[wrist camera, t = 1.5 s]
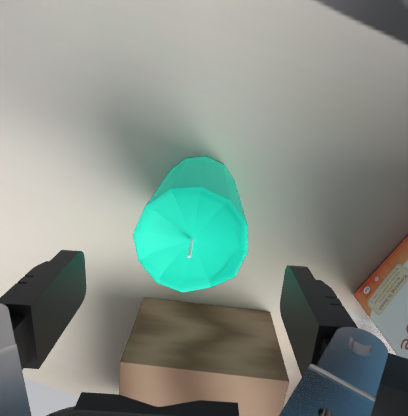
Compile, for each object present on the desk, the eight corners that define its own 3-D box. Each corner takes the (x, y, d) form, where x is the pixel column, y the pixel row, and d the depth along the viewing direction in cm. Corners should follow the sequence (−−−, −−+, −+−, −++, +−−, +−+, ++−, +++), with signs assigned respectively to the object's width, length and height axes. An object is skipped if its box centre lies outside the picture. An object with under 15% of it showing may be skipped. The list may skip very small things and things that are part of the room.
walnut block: (269, 310, 29) (289, 381, 22) (249, 404, 33) (260, 493, 25) (144, 296, 29) (120, 362, 22) (138, 392, 33) (115, 477, 25)
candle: (159, 218, 27) (119, 300, 15) (169, 149, 25) (132, 184, 13) (228, 230, 27) (239, 320, 15) (242, 162, 25) (267, 207, 14)
